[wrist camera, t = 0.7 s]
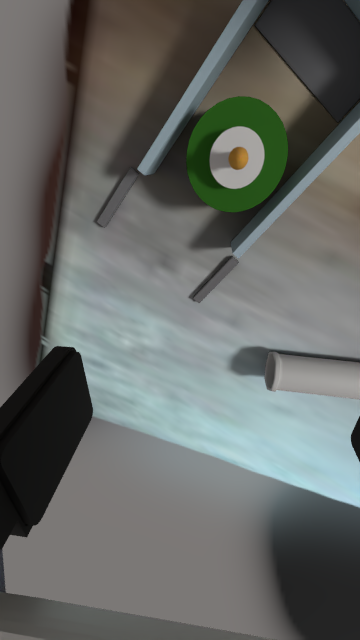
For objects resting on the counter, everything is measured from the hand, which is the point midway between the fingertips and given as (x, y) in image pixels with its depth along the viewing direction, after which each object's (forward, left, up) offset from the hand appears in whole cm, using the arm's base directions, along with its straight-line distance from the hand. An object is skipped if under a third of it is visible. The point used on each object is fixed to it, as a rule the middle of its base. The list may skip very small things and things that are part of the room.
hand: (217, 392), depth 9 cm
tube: (+1, +27, -26) cm, 38 cm away
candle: (-6, -4, -26) cm, 27 cm away
